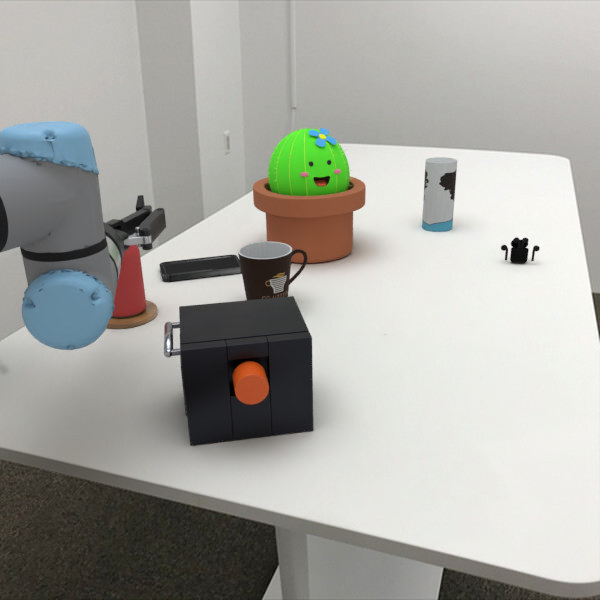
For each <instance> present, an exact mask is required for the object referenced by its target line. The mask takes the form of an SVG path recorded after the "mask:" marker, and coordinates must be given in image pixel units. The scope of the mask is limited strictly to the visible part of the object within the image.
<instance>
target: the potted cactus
mask: <svg viewBox="0 0 600 600" xmlns="http://www.w3.org/2000/svg"><path fill="white" fill-rule="evenodd" d="M315 127H316V126H314V127H313V128H310V127H308V128H307V127H306V125H303V128H302V127H300V128H299V129H297V130H296V129H295V128H294V130H293V131H291V130H289V131H288V133H287V135H286V136H284V137H283V138H282V137H280V139H278V141H279V142H278V143H277V145H276V146H275V145H274V144H273V146H272V147H273V152H272V153H271V156H270V160H268V162H269V163H268V169H267V172H265V177H263V178H262V179H259V180H257V181H255V182H254V183H253V185H252V198H253V199H252V200H253V206H254V207H255V208H256V209H257V210H258V211H260V212H262V213H264V214H265V228H266V229H265V230H266V242H280V243H285V244H287V245H289V246H291V247H292V251H293V250H296V249H300V250H303V251H305V252H306V254H307V264H314V263H324V262H331V261H336V260H339V259H342V258H345V257H346V256H348V255H349V254H351V253H352V251H353V248H354V212H356V211H358V210H360V209H362V208H364V206H365V205H366V183H365V182H364V181H362V180H361V179H360V178H357V177H354V176H350V175H351V172H352V170H351V169H350V164H349V161H348V158H347V156H346V153H345V152H346V151H347V149H346V150H344V149H343V148H342V146H341V145H342V144H339V142H338V141H337V139H336V138H335V137H333V136H331V135H330V130H328V129H327V128H324V127H320V126H317V127H316V128H315ZM303 262H304V256H303V254H302V253H296V254H294V255H293V256H292V259H291V263H294V264H295V263H296V264H303Z"/></svg>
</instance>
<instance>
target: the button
mask: <svg viewBox="0 0 600 600" xmlns="http://www.w3.org/2000/svg"><path fill="white" fill-rule="evenodd" d="M233 384H234V390H235V394H236V397H237V398H238V399H239V400H240V401H241V402H243V403H245V404H257V403H259V402H261V401H263V400H264V399H265V398H266V396H267V395H268V392H269V384H268V380H267V377H266V373H265V370H264V368H263V367H262V366H261V365H260V364H259V363H257V362H253V361H248V362H244V363H241V364H240V365H238V366H237V367H236V368H235V370H234V372H233Z"/></svg>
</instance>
